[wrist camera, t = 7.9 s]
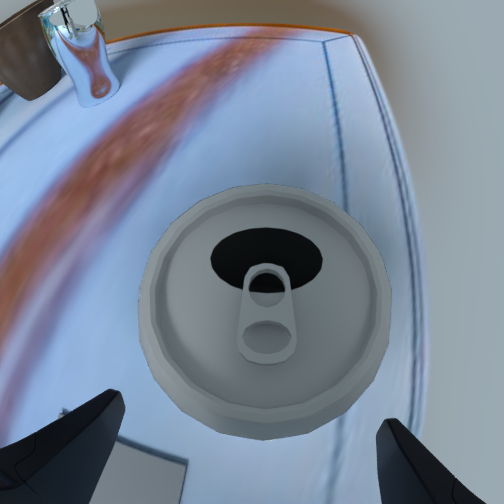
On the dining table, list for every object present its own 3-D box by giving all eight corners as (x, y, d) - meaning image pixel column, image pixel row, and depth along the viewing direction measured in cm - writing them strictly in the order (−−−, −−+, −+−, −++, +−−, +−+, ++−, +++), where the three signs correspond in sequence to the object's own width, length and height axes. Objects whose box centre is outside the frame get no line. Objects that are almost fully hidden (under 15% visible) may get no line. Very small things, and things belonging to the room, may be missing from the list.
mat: (167, 563, 11) (166, 566, 10) (54, 510, 12) (51, 511, 11) (187, 464, 15) (185, 466, 14) (62, 413, 16) (58, 413, 15)
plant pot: (-4, 124, 32) (-43, 61, 17) (37, 73, 38) (10, 15, 24) (50, 107, 31) (8, 23, 17) (93, 55, 37) (69, -16, 23)
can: (320, 290, 19) (389, 167, 8) (322, 406, 16) (424, 435, 5) (204, 289, 19) (142, 164, 8) (198, 404, 16) (100, 433, 5)
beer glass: (133, 80, 31) (104, -16, 18) (96, 113, 29) (52, 11, 15) (102, 77, 33) (72, -7, 19) (67, 107, 30) (26, 21, 17)
